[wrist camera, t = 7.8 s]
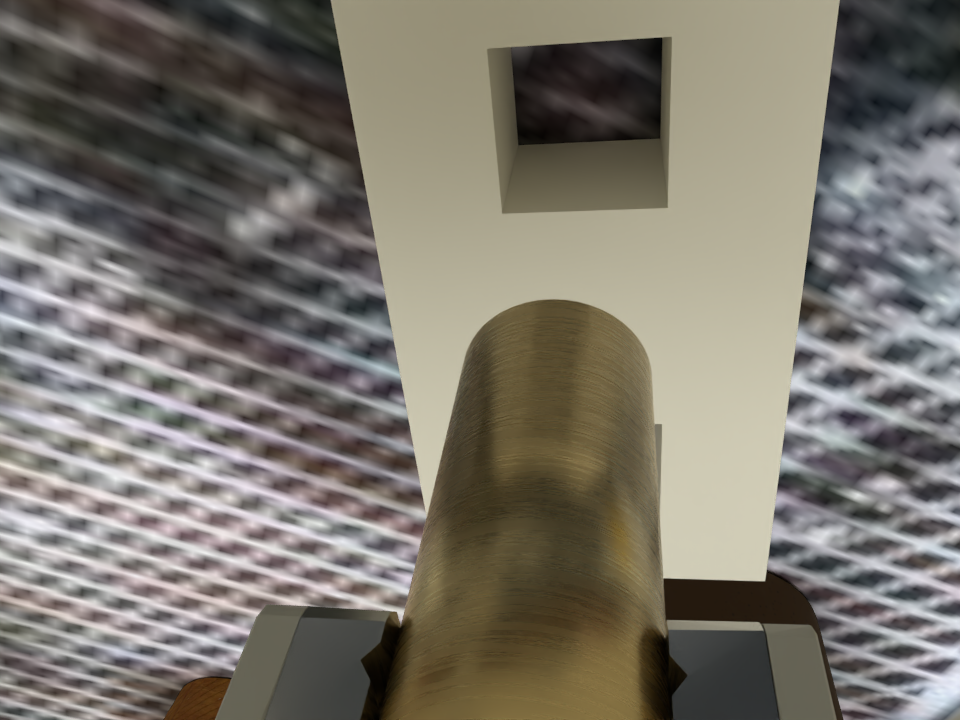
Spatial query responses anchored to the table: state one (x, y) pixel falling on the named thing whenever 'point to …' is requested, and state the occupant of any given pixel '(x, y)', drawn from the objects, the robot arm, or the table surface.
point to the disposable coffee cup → (199, 700)
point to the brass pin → (541, 533)
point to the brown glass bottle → (744, 607)
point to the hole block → (607, 224)
